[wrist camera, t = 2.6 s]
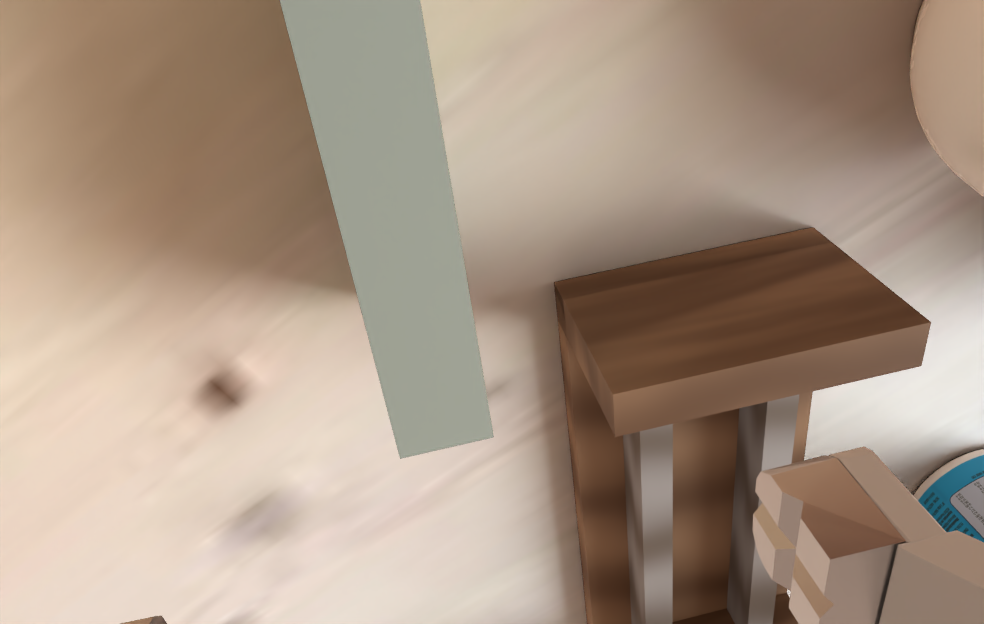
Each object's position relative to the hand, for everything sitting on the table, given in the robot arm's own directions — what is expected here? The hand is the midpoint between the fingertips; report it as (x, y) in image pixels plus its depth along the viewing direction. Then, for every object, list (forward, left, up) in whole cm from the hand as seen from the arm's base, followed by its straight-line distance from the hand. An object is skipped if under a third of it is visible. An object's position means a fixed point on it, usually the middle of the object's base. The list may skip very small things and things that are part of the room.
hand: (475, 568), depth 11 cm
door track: (+22, +12, -21) cm, 33 cm away
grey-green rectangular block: (0, 0, -21) cm, 21 cm away
